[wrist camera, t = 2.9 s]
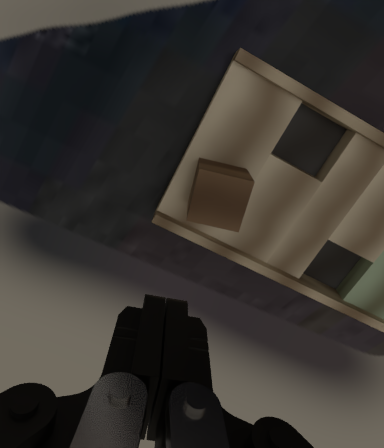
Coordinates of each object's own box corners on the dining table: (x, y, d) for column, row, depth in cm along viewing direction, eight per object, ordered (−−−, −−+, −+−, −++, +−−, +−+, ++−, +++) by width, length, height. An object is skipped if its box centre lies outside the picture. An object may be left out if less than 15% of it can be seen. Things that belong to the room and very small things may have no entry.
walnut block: (199, 157, 27) (199, 168, 23) (246, 168, 27) (254, 181, 24) (187, 203, 29) (186, 220, 25) (233, 213, 29) (238, 232, 25)
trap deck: (155, 210, 31) (148, 231, 26) (235, 51, 26) (244, 44, 21) (389, 322, 35) (417, 357, 31) (496, 205, 30) (549, 227, 26)
